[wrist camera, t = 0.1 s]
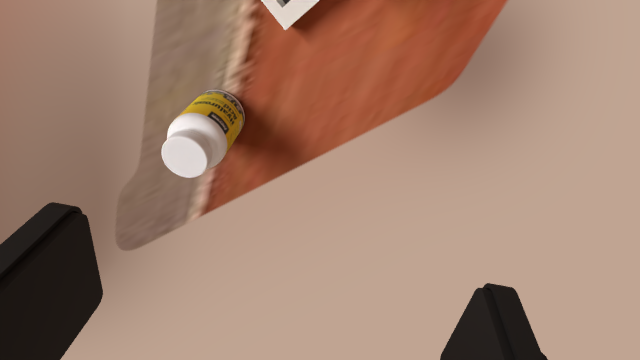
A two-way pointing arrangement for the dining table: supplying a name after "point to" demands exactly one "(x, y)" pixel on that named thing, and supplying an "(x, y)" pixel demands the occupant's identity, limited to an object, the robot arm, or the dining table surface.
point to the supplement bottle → (203, 133)
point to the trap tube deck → (288, 10)
